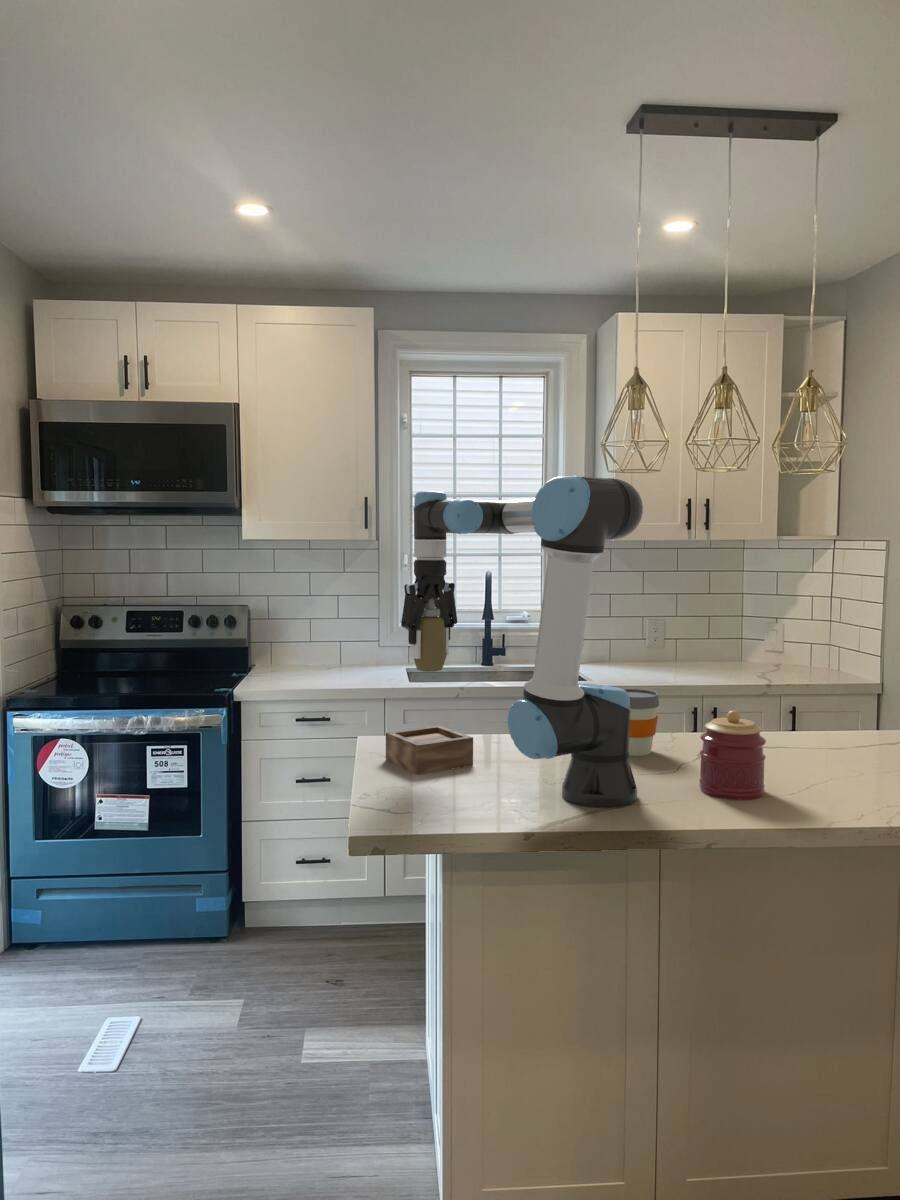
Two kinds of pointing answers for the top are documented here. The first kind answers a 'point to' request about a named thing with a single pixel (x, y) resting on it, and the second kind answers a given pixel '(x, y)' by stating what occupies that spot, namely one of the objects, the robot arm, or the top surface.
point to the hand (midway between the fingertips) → (429, 656)
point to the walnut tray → (429, 749)
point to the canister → (732, 759)
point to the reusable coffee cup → (642, 720)
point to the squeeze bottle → (431, 640)
